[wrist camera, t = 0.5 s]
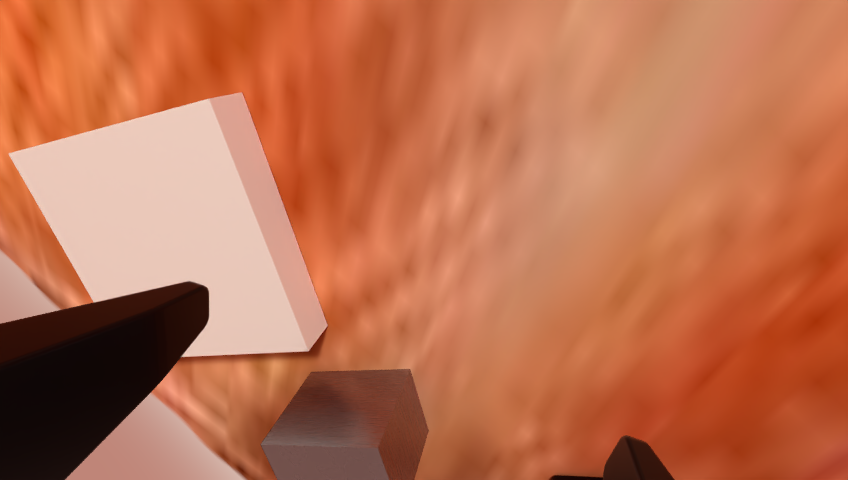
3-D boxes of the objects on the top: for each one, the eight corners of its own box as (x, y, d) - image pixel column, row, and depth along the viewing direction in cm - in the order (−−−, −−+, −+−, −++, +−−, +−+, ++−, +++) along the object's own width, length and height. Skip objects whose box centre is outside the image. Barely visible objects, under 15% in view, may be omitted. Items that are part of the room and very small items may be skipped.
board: (327, 325, 27) (308, 351, 25) (155, 336, 32) (126, 359, 30) (242, 92, 22) (208, 98, 20) (52, 143, 27) (8, 153, 25)
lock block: (428, 430, 29) (403, 517, 24) (334, 428, 31) (291, 508, 26) (410, 368, 27) (377, 448, 22) (311, 371, 30) (260, 444, 24)
